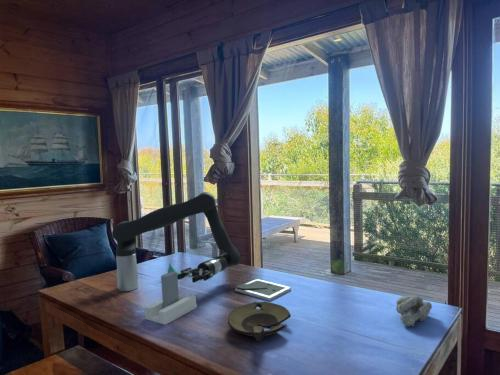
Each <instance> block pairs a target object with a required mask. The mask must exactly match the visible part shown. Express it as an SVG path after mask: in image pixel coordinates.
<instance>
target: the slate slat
mask: <svg viewBox="0 0 500 375" xmlns="http://www.w3.org/2000/svg"><path fill="white" fill-rule="evenodd" d="M177 272H178V271H177ZM177 272H170V273H168V272H167V273H165V274H163V275H161V277H160V278H161V297H162V298H161V299H163V308H165V307H167V306H169V305H171V304H173V303H175V302H177V301H179V293H180V292H179V280H178V277H177ZM178 292H179V293H178Z"/></svg>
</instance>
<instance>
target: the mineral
mask: <svg viewBox="0 0 500 375" xmlns="http://www.w3.org/2000/svg"><path fill="white" fill-rule="evenodd" d="M432 308H433V305H432V303H431V302H429V301H424V299H423V298H422V297H421V296H418V295H413V294H412V295H410V294H409V295H407V296H406V295H402V296H400V297H399V298H398V299H397V300H396V308H395V310H396V312H397V313H398V314H400V315H401V317H400V320H401V322H402V324H403V325H404V326H406V327H411V326H412V327H414V326H415V323H416V321H419V322H422V321H426V318H427V317H428V315H429V314H430V312H431V310H432Z"/></svg>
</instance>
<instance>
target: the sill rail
mask: <svg viewBox="0 0 500 375" xmlns="http://www.w3.org/2000/svg"><path fill="white" fill-rule="evenodd" d="M178 293H179V301H177V302H175V303H173V304H171V305H169V306H167V307H165V308H163V298H161V299H160V300H157V301H156V302H152V303H151V304H149V305H146V306H145V307H144V312H145V313H144V314H145V316H144V317H145V320H148V321H151V322H154V323H157V324H158V323H159V324H161V325H165V326H166V325H167V324H168V325H169V323H171V322H173V321H175V320H177V319H178V318H180V317H182V316H184V315H185V314H187V313H189V312H191V311H193V310H195V309H197V307H198V306H197V296H196V295H193V294H189V295H188V296H186V297H183V293H182V292H179V291H178Z"/></svg>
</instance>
